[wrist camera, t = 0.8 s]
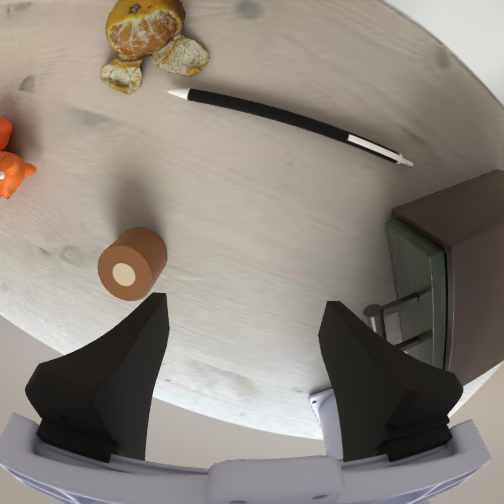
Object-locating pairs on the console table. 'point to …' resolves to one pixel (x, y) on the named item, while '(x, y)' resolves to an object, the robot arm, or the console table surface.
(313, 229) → the console table surface
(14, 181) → the orange chunky figure
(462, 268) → the cabinet
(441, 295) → the drawer
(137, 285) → the brown short cylinder
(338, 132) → the pen
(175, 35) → the fruit
